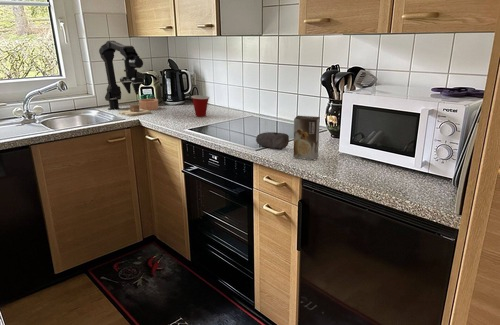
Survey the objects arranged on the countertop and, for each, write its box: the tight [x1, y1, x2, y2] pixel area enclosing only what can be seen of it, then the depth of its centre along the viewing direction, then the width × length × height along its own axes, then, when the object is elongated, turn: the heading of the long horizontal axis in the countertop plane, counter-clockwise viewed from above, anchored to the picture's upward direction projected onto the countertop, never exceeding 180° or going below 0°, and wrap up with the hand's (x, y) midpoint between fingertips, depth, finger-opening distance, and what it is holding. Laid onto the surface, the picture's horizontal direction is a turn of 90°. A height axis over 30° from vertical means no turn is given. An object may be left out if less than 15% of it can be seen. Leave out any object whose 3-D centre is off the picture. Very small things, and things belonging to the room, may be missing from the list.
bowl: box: [138, 98, 160, 111], centre depth 248 cm, size 12×12×6 cm
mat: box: [118, 112, 151, 118], centre depth 234 cm, size 15×15×1 cm
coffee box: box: [292, 115, 321, 160], centre depth 147 cm, size 9×6×16 cm
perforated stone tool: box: [255, 131, 290, 150], centre depth 162 cm, size 15×5×7 cm, turn 59°
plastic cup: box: [190, 94, 210, 118], centre depth 226 cm, size 11×11×12 cm
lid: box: [118, 103, 152, 117], centre depth 233 cm, size 14×14×5 cm
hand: (133, 94), depth 230 cm, fingers open, 9 cm apart
